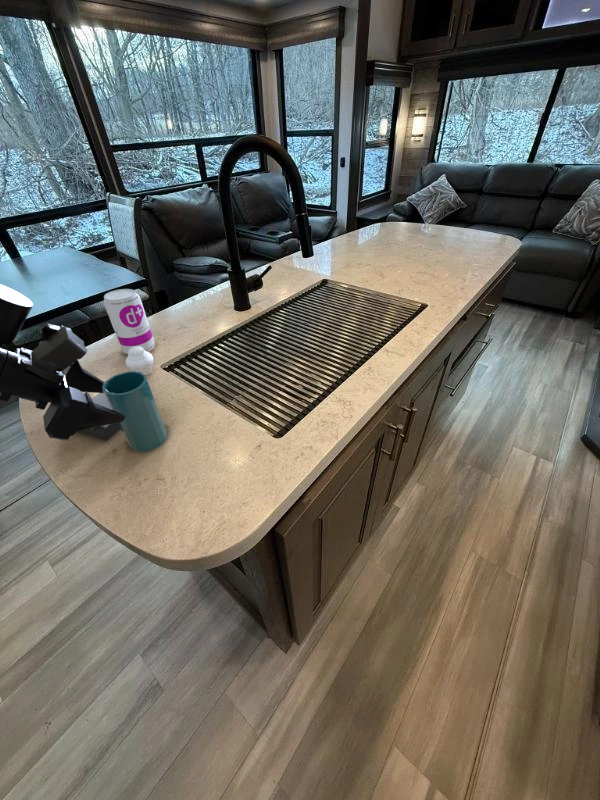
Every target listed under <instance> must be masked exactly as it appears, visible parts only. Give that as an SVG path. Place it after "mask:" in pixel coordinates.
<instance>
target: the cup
mask: <svg viewBox="0 0 600 800" xmlns="http://www.w3.org/2000/svg"><path fill="white" fill-rule="evenodd" d="M104 382H105V383H104V384H103V386H102V387H103V392H104V394H105V396H106V398H107V401H108V403H109V405H110V407H111V409H112V410H114V411H117V412H119V413H121V414H123V415H125V419H124V420H123V422H119V425H120V427H121V429H120V430H121V432H122V433H123V436H124V437H125V440H126V442H127V444H128V446H129V447H130V449H131V450H133V451H134V452H139V453H145V452H150V451H153V450H155V449H157V448H159V447H160V446H162V445H163V444H164V442H165V441H166V440H167V437H168V432H167V428H166V426H165V423H164V421H163V418H162V415H161V413H160V409H159V406H158V404H157V401H156V398H155V396H154V393H153V390H152V388H151V384H150V382H149V380H148V377H147V375H145V374H143V373H142V372H138V371H131V370H129V371H124V372H123V371H122V372H120V373H116V374H114V375H113V376H111V377H109V378H108V379H106V380H105V381H104Z"/></svg>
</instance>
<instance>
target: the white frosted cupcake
mask: <svg viewBox="0 0 600 800" xmlns="http://www.w3.org/2000/svg"><path fill="white" fill-rule="evenodd" d="M124 362H125V363H124V364H125V365H126V367H127V368H128V370H129V371H138V372H142V373H143V374H145V375H146V376H149V375H150V374H151V373H152V370H153V366H154V356H153V354H152V353H151V352H150V351H149V352H146V351H145V350H144V349H143V348H142V347H139V346H138V347H137V346H136V347H132V348H131V349H130V350H129V351H128V354H127V357H126V359H125V361H124Z"/></svg>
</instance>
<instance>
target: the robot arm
mask: <svg viewBox="0 0 600 800" xmlns="http://www.w3.org/2000/svg"><path fill="white" fill-rule="evenodd" d="M33 307H34V303H33V301H31V299H29V298H28V297H27V296H25V295H23V294H22V293H20V292H19V291H16V290H14V289H13V288H10V287H8V286H6V285H5V284H1V283H0V401H3V402H9V401H10V399H11V397H13V398H17V399H21V400H26V401H28V402H29V401H30V402H34V406H35V409H38V410H42V411H44V410H45V409H46V407H47V406H48V404H49V406H48V407H47V409H46V411H45V412H44V414H43V416H42V419H43V426H44V432H45V433H46V434H47V436H48V438H50V439H56V440H60V441H68V440H69V439H70V437H71V436H72V437H73V436H75V435H76V433H79V432H78V431H82V430H86V429H89V428H93V427H98V426H103V425H108V424H114V423H119V422H123V420H124V419H125V415H123V414H121V413H119V412H117V411H114V410H111V409H109V408H106V407H104V406H101V405H98V404H96V403H94V402H93V401H92V397H91V396H90V394H89V393H91V394H92V393H93V394H95V393H96V394H99V393H104V392H103V387H102V386H103V384H104V383H105V382H106V381H104V380H103V379H101V378H99V377H98V376H95V375H94V374H93V373H91V372H89V371H88V370H86V369H84V367H83V366H82V365H81V363H80V361H79V360H81V359H82V358H84V357H85V356H86V354H87V352H88V349H87V347H86V346H85V341H84V340H83V339H81V338H80V337H79V336H78V335H76V334H75V333H73V330H72V328H71V327H66V326H64V325H63V324H61V325H60V326H59V325H55V324H53V323H48V322H47V323H45V324H44V325H43V326H42V327H40V328H39V334H40V336H41V338H42V340H41V341H39V342H38V345H37V347H35V348H34V349H33V350H30V349H27V348H24V347H21V348H18V347H17V348H16V350H15V351H10V350H8V349H4V348H3V346H4V345H11V344H14V342H15V340H16V339H17V337H18V335H19V333H20V331H21V329H22V327H23V326H24V324H25V322H26V320H27V318H28V316H29V315H30V313H31V310H32V309H33Z"/></svg>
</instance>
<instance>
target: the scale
mask: <svg viewBox="0 0 600 800" xmlns="http://www.w3.org/2000/svg"><path fill="white" fill-rule="evenodd" d="M91 399H92V401H93V402H94V403H96V404H98V405H101V406H104V407H106V408H109V409H111V407H110V405H109V403H108V401H107V398H106V396H105V394H104V393H97V395H95V396H94V397H91ZM111 410H112V409H111ZM120 430H121V427H120V425H119V423H114V424H108V425H103V426H98V427H93V428H89V429H86V430H82V431H78V432H77V433H79V434H82V435H86V436H90V437H93V438H96V439H100V440H103V441H109V440H110V439H111V438H113V436H114V435H115V434H117V432H119V431H120Z"/></svg>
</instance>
